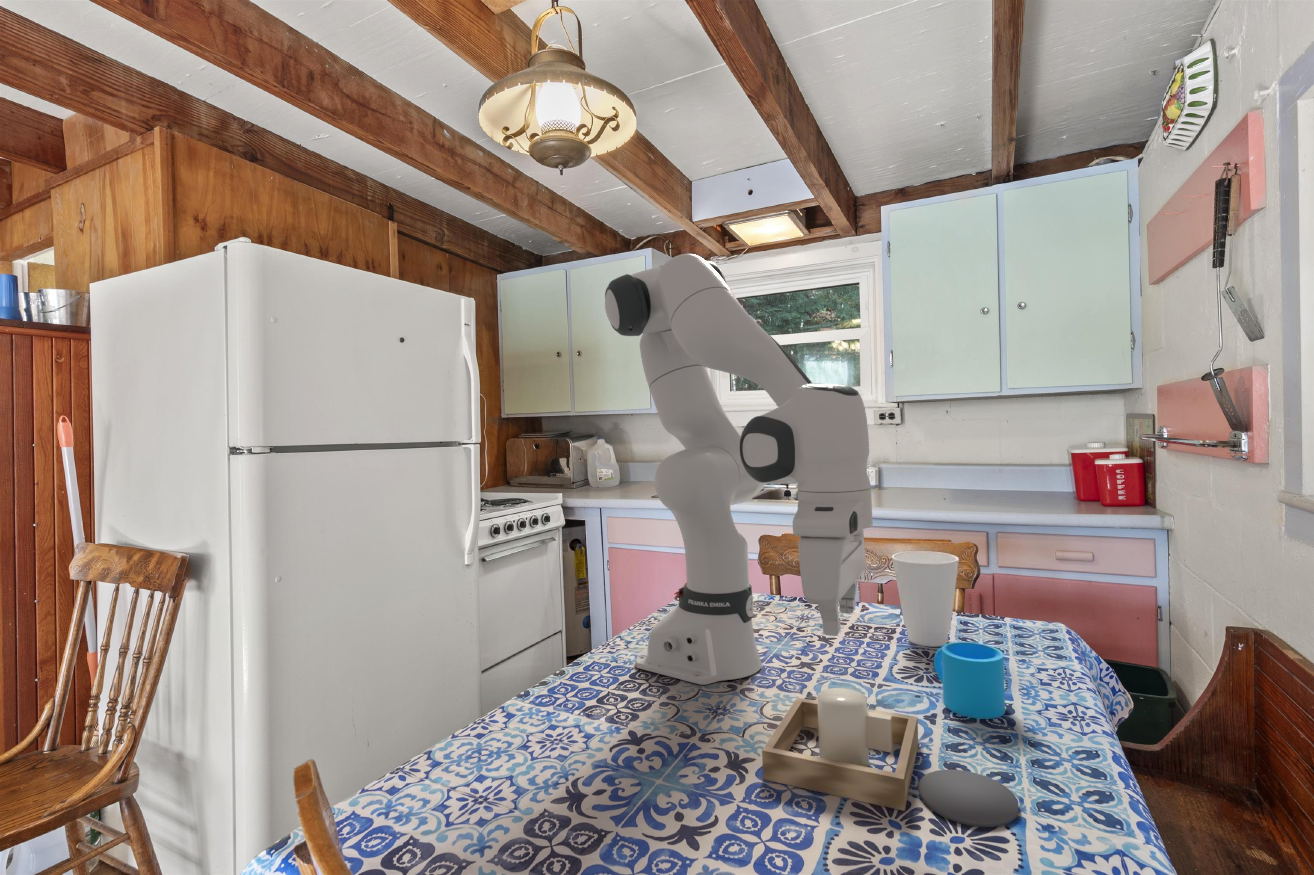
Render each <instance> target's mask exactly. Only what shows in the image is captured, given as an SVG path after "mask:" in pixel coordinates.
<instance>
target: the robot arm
mask: <svg viewBox="0 0 1314 875" xmlns="http://www.w3.org/2000/svg"><path fill="white" fill-rule="evenodd" d="M604 308H605V313H606V317H607V319H608V321H609V322H610V326H611V327H612V329H613V330H614V331H615V332H617V333H618V334H619V335H620V336H625V337H639V336H641V335H642V336H641V337H640V340H639V350H640V357H641V362H642V367H643V372H644V375H645V379H646V383H647V386H648V389H649V392H650V394H651V397H652V400H653V402H654V405H655V408H656V412H657V413H658V417H659V420H660V422H661V425H662V427H663V429H664V430H666V432H668V433H669V434H670V435H671V436H674V438H676V439H677V440H678V441H679V442H680V444H681V445H682V446H683V447H684V449H683V450H679V451H677V452H675V453H672V454H671V455H669V456H667V457H665V458H664V459H663V460H662V461H661V462H660V463H659V464H658V466H657V468H656V471H655V476H654V487H655V492H656V495H657V497H658V499H659V501H660V502H661V503H662V505H664V506H665V507H666V508H667V509H668V510H669V511H670V512H671V513H672V515H673V516H674V518H675V520H676V522H677V525H678V528H679V531H680V533H681V538H682V540H683V546H684V555H685V556H684V557H685V568H686V569H685V570H686V574H685V575H686V582H685V583H684V585H683V586H682V587H680V588H679V589H678V591H676V592H674V593H673V594H674V595H675V596H674V600H677V599H678V605H677V607H675V608H674V609H673V610H671V611H670V612H669V613H668V614H666V615H665V616H664V617H663V618H661V619H660V620H659V621H657V623H655V624H654V626H653V627H652V628H651V631H650V633H649V637H648V642H647V643H648V645H647V647H646V648H645V649H643V650H642V651H641V652H639V654H638V655H637V657H636V659H635V667H636V668H637V669H641V670H644V671H647V672H652V673H656V674H660V675H663V676H665V677H666V676H667V677H670V678H674V679H679V680H682V681H685V682H689V683H693V684H697V685H704V686H705V685H709V684H712V683H713V684H714V683H717V682H721V681H722V682H723V681H728V680H729V681H730V680H737V679H743V678H746V677H749V676H752V675H754V674H756V673H757V672H759V671H760V669H761V668H762V666H763V664H762V660H761V657H760V653H759V651H758V647H757V643H756V642H757V641H756V638H755V633H754V625H753V617H754V597H753V589H752V588H753V587H752V585H751V583H750V570H749V569H750V568H749V566H750V565H749V564H750V563H749V545H748V542H747V540H746V538H745V537H744V536H743V535H742V534H741V533H739V531H738V529H737V528H736V527H737V526H736V525H735V523H734V518H733V516H732V511H731V506H734V505H738V504H739V505H740V504H742V503H745V502H748V500H751V499H752V498H753V497H755V496H756V495H757V494H760V493H761V491H762V490H763V489H764V487H765V485H766V484H770V485H777V484H787V483H797V497H798V502H797V510H796V513H795V515H794V516H793V518H792V533H793V535H794V536H795V537H799V539H798V542H797V543H798V545H797V546H798V561H799V571H800V580H801V581H800V582H801V588H802V594H803V597H804V598H805V601H806V603H808V604H809V605H817V606H818V611H819V614H820V617H821V621H822V632H823V635H825V636H830V637H835V636H836V637H837V636H838V635H839V634H840V632H841V617H840V616H839V611H840V613H842V614H849V615H851V614H852V613H854V611H855V610H856V595H857V594H856V591H857V586H858V585H857V584H858V582H857V581H858V578H859V577H860V575H861V574H862V573H863V572H864V571H865V569H866V561H867V560H866V559H867V558H866V557H867V556H866V546H865V535H864V534H865V533H864V529H869V528H871V527H872V526H873V523H874V522H873V504H872V486H871V481H870V479H869V476H868V470H867V466H868V460H869V457H870V456H869V455H870V443H869V442H870V441H869V440H870V439H869V426H868V419H867V418H868V417H867V413H866V408H865V404H864V400H863V398H862V396H861V394H860V392H859V391H858V390H857V389H855V388H854V387H853V386H849V385H843V384H838V383H837V384H836V383H823V382H821V383H816V382H812V380H810V378H809V377H808V376H807V375H806V373H805V372H804V371H803V370H802V369H801V367H800V366H799V365H798V364H797V363H796V361H795V360H794V358H792V356H791V355H790V354H789V353H788V352H787V350H785V348H784V347H783V346H782V345H781V344H780V343H779V342H778V341H776V339H774V338H773V337H772V336H771V335H770V334H769V333H768V332H767V331H766V330H765V329H763V328H762V327H761V325H759V324H758V323H757V322H756V320H754V318H753V317H751V316H750V314H749V313H748V311H746V309H745V308H744V307H743V305H741V303H740V302H739V300H738V299H737V298H736V296H735V294H734V293H733V291H732V290H731V288H730V287H729V286H728V284H727V281H726V278H725V276H724V272H723V271H722V269H721V268H720V267H719V266H718V265H717V264H716V263H715V262H713V261H710V260H705V259H704V258H702V257H701V256H699V255H697V254H693V253H683V254H678V255H676V256H674V257H671V258H670V259H669V260H667V261H665V263H664V264H662V265H659V266H657V267H654V268H649V269H645V270H641V271H638V272H636V273H632V274H629V273H626V274H623V275H621V276H618V277H616V278H614V279H612V280H611V281H609V284H608V285H607V286H606V289H605V293H604ZM707 369H711V370H715V371H719V372H724V373H728V374H731V375H734V376H738V377H740V378H744V379H746V380H748V381H750V382H753V384H756V385H757V386H758V387H761V388H762V389H763V390H764V391H765V392H766V393H767V394H768V396H769V397H770V398H771V399H772V401H773V402H774V403H775V405H776V406H777V407H776V408H774V409H773V410H770V411H768V412H766V413H765V412H764V413H763V414H761V415H758V416H754V417H753V418H750V420H749V421H748V423H747V424H746V425H744V426H745V427H744V428H743V430H742V432H741V433H739V432H738V430H737V429H736V427H735V426H734V425H733V423H732V422H731V420H730V419H729V417H728V416H727V414H726V412H725V410H724V409H723V407H722V405H721V403H720V401H719V398H718V396H717V394H716V390H715V388H714V386H713V384H712V381H711V378H710V376H709V373H708V370H707Z"/></svg>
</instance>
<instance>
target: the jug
mask: <svg viewBox="0 0 1314 875" xmlns="http://www.w3.org/2000/svg"><path fill="white" fill-rule="evenodd" d="M816 696H817V697H816V699H817V700H816V701H817V702H818V750H819V756H818V757H819V758H824V759H829V760H834V761H839V762H844V763H849V764H854V765H859V766H864V767H869V766H870V754H869V753H870V751H869V749H871V750H875V751H876V750H877V751H881V752H886V753H892V752H893V748H894V745H893V744H894V743H893V740H892V716H891V715H885V714H879V713H873V712H867V709H868V698H867V696H866V695H864V694H863V693H861V692H859V691H857V690H855V689H854V690H853V689H850V688H845V687H844V688H843V687H832V688H825V689H822V690H821V691H819V692H818V693H817V695H816ZM869 768H870V767H869Z"/></svg>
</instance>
